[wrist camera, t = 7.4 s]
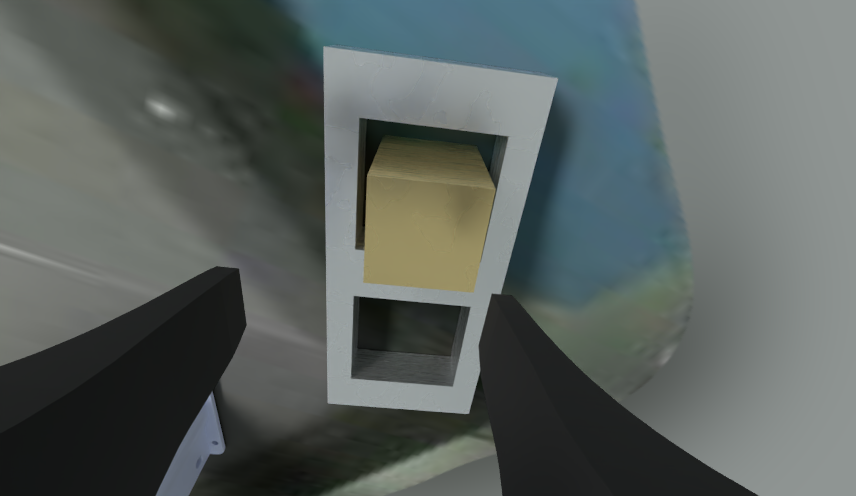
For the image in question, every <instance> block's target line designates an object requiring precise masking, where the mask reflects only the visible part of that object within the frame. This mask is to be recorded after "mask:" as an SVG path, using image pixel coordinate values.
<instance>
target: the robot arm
mask: <svg viewBox="0 0 856 496" xmlns="http://www.w3.org/2000/svg"><path fill="white" fill-rule="evenodd" d="M246 325H247V324H246V317H245V310H244V303H243V295H242V288H241V281H240V274H239V269H238V268H228V267H218V266H216V267H214V268H212V269H210V270H207V271H205V272H204V273H202V274H200V275H198V276H196V277H194V278H192V279H190V280H188V281H187V282H185V283H183V284H181V285H179V286H177V287H176V288H174V289H172V290H170V291H168V292H166V293H164V294H162V295H161V296H159V297H157V298H155V299H153V300H151V301H149V302H148V303H146V304H144V305H142V306H140V307H138V308H136V309H134V310H132V311H130V312H128V313H126V314H124V315H121V316H119V317H117V318H115V319H113V320H111V321H109V322H107V323H105V324H103V325H101V326H99V327H97V328H95V329H93V330H90V331H88V332H86V333H84V334H81V335H79V336H77V337H75V338H72V339H70V340H68V341H65V342H63V343H60V344H58V345H55V346H53V347H51V348H48V349H46V350H43V351H41V352H38V353H36V354H33V355H31V356H28V357H25V358H22V359H19V360H17V361H14V362H11V363H8V364H6V365H3V366H0V496H189V494H190V492H191V490H192V488H193V486H194V484H195V482H196V480H197V478H198V476H199V474H200V472H201V470H202V468H203V466H204V464H205V463H206V461H207V459H208V457H209V455H210V454H222V453H223V452H224V450H225V443H224V439H223V434H222V430H221V425H220V421H219V417H218V412H217V408H216V404H215V399H214V395H213V389H214V388H215V386H216V384H217V383H218V381H219V379H220V378H221V376H222V374H223V373H224V371H225V369H226V368H227V366H228V364H229V363H230V361H231V359H232V357H233V355H234V353H235V351H236V349H237V347H238V344H239V342H240V340H241V337H242V335H243V333H244V330H245V328H246ZM478 347H479V361H480V372H481V380H482V385H483V390H484V395H485V400H486V404H487V409H488V414H489V418H490V423H491V428H492V432H493V437H494V442H495V446H496V451H497V457H498V463H499V469H500V478H501V486H502V495H503V496H758V495H756V494H755V493H753V492H751V491H749V490H748V489H746V488H745V487H743V486H741V485H739V484H738V483H736V482H734V481H733V480H731V479H729V478H727V477H726V476H724V475H722V474H720V473H718V472H717V471H715V470H714V469H712V468H710V467H709V466H707V465H706V464H704V463H702V462H701V461H700V460H698V459H696V458H695V457H693V456H692V455H690V454H689V453H687V452H686V451H684V450H683V449H681V448H679V447H678V446H676V445H675V444H674V443H672V442H671V441H669V440H668V439H666V438H665V437H663V436H662V435H660V434H659V433H658V432H656V431H655V430H653V429H652V428H651V427H649V426H648V425H647V424H645V423H644V422H643V421H641V420H640V419H639V418H637V417H636V416H635V415H633V414H632V413H631V412H629V411H628V410H627V409H625V408H624V407H623V406H622V405H620V404H619V403H618V402H617V401H615V400H614V399H613V398H612V397H611V396H610V395H608V394H607V393H606V392H605V391H604V390H603V389H601V388H600V387H599V386H598V385H597V384H596V383H594V382H593V381H592V380H591V379H590V378H589V377H588V376H587V375H586V374H584V373H583V372H582V371H581V370H580V369H579V368H578V367H577V366H576V365H575V364H574V363H573V362H572V361H571V360H570V359H569V358H568V357H567V356H566V355H565V354H564V353H563V352H562V351H561V350H560V349H559V348H558V347H557V346H556V345H555V343H554V342H553V341H552V340H551V339H550V338H549V337H548V336H547V335H546V334H545V333H544V331H543V330H542V329H541V328H540V327H539V326H538V325H537V323H536V322H535V321H534V320H533V319H532V318H531V316H530V315H529V314H528V313H527V312H526V311H525V309H524V308H523V307H522V306H521V305H520V304H519V302H518V301H517V300H516V299H515V298H514V297H513V296H512V295H503V294H493V293H492V294H491V298H490V302H489V306H488V310H487V314H486V318H485V322H484V326H483V330H482V333H481V337H480V341H479V345H478Z"/></svg>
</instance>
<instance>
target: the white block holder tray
mask: <svg viewBox="0 0 856 496" xmlns="http://www.w3.org/2000/svg"><path fill="white" fill-rule="evenodd" d="M557 81H558V78H556V77H553V76H550V75H547V74H544V73H541V72H534V71H527V70H519V69H512V68H504V67H497V66H490V65H482V64H475V63H468V62H460V61H453V60H446V59H438V58H431V57H424V56H416V55H409V54H402V53H394V52H387V51H380V50H372V49H365V48H358V47H350V46H343V45H331V46H324V126H325V210H326V295H327V380H328V403H330V404H343V405H356V406H369V407H383V408H396V409H409V410H422V411H436V412H449V413H462V414H469V411H470V407H471V403H472V400H473V396H474V392H475V388H476V385H477V381H478V377H479V373H480V361H479V347H478V345H479V341H480V337H481V333H482V330H483V326H484V322H485V318H486V314H487V310H488V306H489V302H490V298H491V294H492V293H493V294H501V291H502V287H503V283H504V280H505V276H506V272H507V268H508V265H509V261H510V257H511V253H512V250H513V246H514V242H515V238H516V235H517V231H518V227H519V223H520V220H521V216H522V212H523V208H524V205H525V201H526V197H527V194H528V190H529V186H530V182H531V179H532V175H533V171H534V167H535V164H536V160H537V156H538V152H539V149H540V145H541V141H542V137H543V134H544V130H545V126H546V122H547V119H548V115H549V111H550V107H551V104H552V100H553V96H554V92H555V89H556V85H557ZM367 119H373V120H381V121H389V122H397V123H405V124H413V125H422V126H430V127H438V128H446V129H454V130H462V131H470V132H478V133H486V134H494V135H496V140H495V145H494V149H493V154H492V159H491V164H490V169H489V175H490V177H491V180H492V182H493V184H494V186H495V188H496V191H495V195H494V200H493V205H492V209H491V214H490V219H489V224H488V228H487V233H486V238H485V242H484V247H483V252H482V256H481V261H480V266H479V270H478V275H477V280H476V285H475V289H474V293H471V292H460V291H449V290H438V289H427V288H416V287H405V286H394V285H383V284H372V283H363V276H364V248H365V227H363V203H364V178H365V154H366V130H367ZM360 297H371V298H382V299H392V300H403V301H414V302H424V303H435V304H445V305H456V306H461V309H460V313H459V318H458V323H457V328H456V333H455V338H454V342H453V347H452V352H451V356H439V355H427V354H416V353H404V352H392V351H380V350H369V349H357V348H358V324H359V299H360Z"/></svg>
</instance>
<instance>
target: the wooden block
mask: <svg viewBox="0 0 856 496" xmlns="http://www.w3.org/2000/svg"><path fill="white" fill-rule="evenodd" d="M495 191H496V188H495V186H494V184H493V182H492V180H491V177H490V175H489V173H488V171H487V168H486V166H485V164H484V162H483V159H482V157H481V155H480V153H479V150H478V148H477V146H476V145H468V144H460V143H451V142H442V141H433V140H424V139H416V138H407V137H398V136H389V135H384V136H383V138H382V141H381V143H380V146H379V148H378V150H377V153H376V155H375V158H374V160H373V162H372V165H371V167H370V170H369V172H368V175H367V193H366V221H365V248H364V276H363V283H372V284H383V285H394V286H405V287H416V288H427V289H438V290H449V291H460V292H471V293H474V289H475V285H476V280H477V275H478V270H479V266H480V261H481V256H482V252H483V247H484V242H485V238H486V233H487V228H488V224H489V219H490V214H491V209H492V205H493V200H494V195H495Z"/></svg>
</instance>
